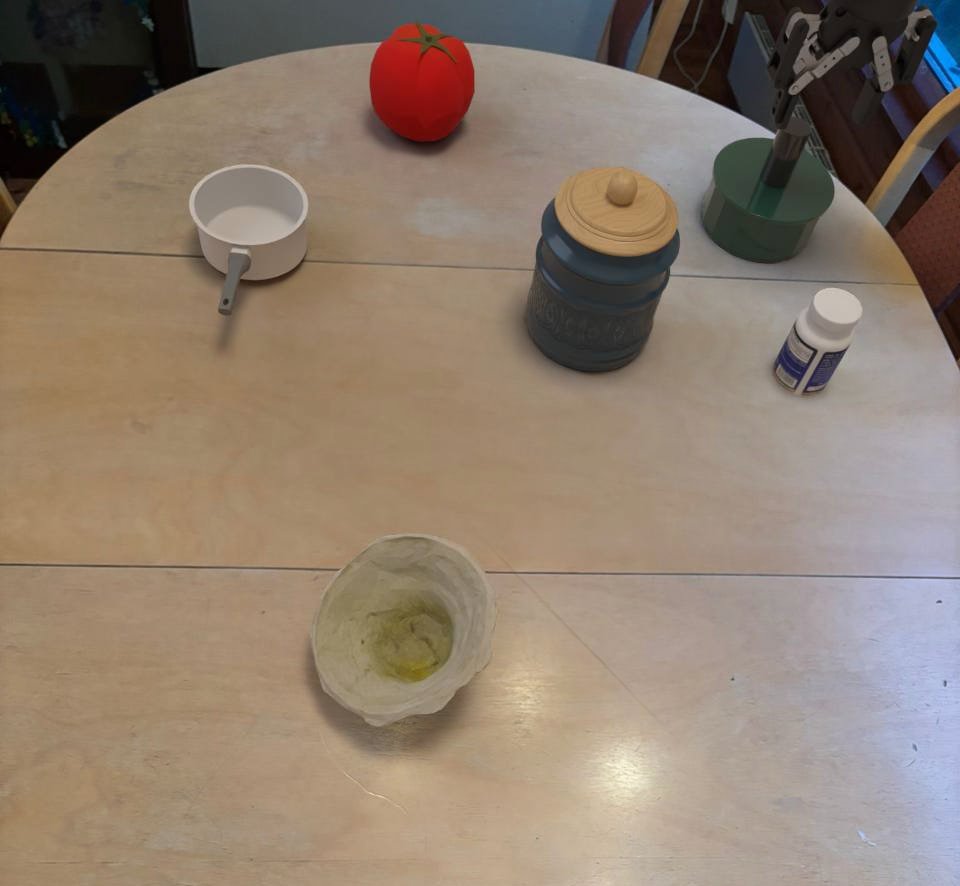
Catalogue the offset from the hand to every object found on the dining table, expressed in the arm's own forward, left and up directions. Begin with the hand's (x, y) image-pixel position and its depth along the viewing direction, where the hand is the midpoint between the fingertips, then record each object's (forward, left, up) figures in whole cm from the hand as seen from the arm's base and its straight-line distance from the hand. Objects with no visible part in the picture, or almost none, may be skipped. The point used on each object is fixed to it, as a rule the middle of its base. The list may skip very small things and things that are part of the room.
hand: (818, 122), depth 94 cm
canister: (+26, -3, -14) cm, 30 cm away
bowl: (+65, +15, -14) cm, 68 cm away
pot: (-1, -3, -14) cm, 14 cm away
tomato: (+20, -37, -14) cm, 44 cm away
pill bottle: (+13, +16, -14) cm, 25 cm away
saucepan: (+50, -28, -14) cm, 59 cm away
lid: (-1, -3, -9) cm, 9 cm away
